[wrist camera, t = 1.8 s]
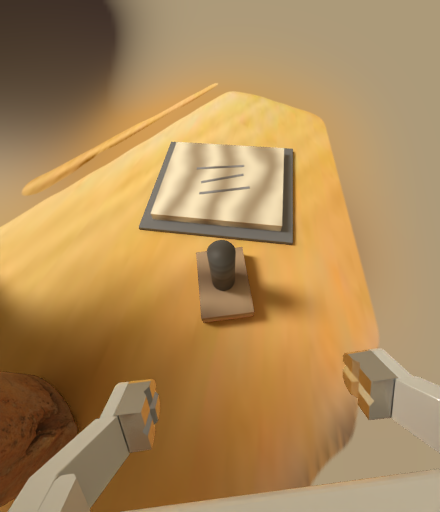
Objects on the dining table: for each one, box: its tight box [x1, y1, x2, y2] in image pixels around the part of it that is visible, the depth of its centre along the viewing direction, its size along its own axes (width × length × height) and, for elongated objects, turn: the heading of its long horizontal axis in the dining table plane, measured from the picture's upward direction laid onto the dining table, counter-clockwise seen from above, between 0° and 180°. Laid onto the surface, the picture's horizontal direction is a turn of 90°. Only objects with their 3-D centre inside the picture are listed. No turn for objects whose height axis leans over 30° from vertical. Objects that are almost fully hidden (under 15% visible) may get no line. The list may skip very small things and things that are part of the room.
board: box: [151, 142, 284, 231], centre depth 43 cm, size 22×19×2 cm
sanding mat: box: [139, 142, 293, 245], centre depth 44 cm, size 26×23×1 cm
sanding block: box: [196, 240, 254, 323], centre depth 30 cm, size 10×7×10 cm
